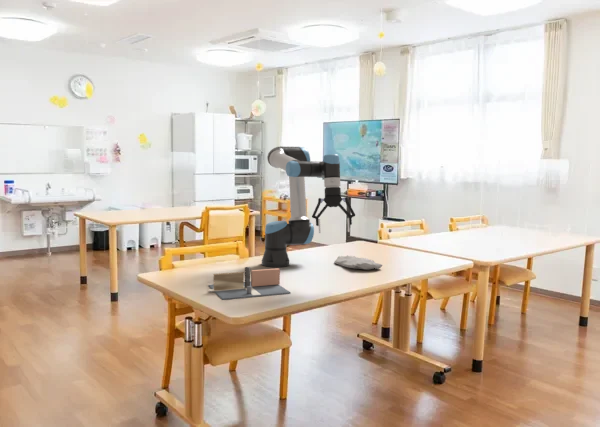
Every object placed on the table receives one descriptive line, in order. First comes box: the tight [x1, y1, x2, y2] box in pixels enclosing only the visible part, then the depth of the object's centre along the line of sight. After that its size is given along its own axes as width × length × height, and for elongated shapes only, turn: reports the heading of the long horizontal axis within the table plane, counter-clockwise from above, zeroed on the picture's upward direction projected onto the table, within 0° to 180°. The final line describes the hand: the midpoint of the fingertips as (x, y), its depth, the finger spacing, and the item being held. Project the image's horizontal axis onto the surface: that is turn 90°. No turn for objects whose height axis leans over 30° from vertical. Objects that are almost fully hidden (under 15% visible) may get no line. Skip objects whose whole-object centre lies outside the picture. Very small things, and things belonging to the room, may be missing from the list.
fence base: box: [213, 266, 251, 290], centre depth 229 cm, size 2×16×9 cm, turn 113°
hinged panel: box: [250, 267, 281, 287], centre depth 235 cm, size 2×13×7 cm, turn 113°
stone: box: [334, 255, 383, 271], centre depth 283 cm, size 18×5×30 cm
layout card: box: [208, 280, 291, 301], centre depth 230 cm, size 24×32×4 cm
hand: (334, 232), depth 245 cm, fingers open, 13 cm apart
